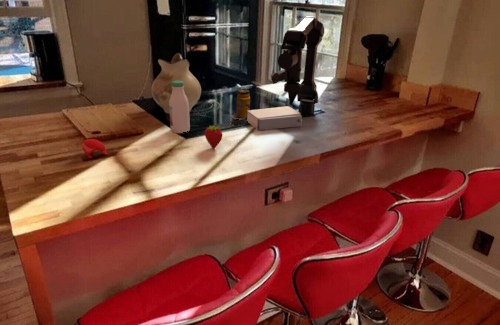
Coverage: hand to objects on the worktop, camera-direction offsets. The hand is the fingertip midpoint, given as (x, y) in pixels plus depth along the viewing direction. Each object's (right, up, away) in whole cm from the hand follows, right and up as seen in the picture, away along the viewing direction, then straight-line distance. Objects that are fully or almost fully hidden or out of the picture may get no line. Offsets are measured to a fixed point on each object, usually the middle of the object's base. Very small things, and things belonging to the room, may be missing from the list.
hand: (290, 103), depth 150 cm
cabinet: (-6, -6, +14) cm, 16 cm away
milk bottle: (-45, -11, +3) cm, 46 cm away
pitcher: (-51, +1, +27) cm, 58 cm away
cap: (-69, -21, -20) cm, 75 cm away
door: (-4, -9, +8) cm, 12 cm away
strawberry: (-30, -18, -12) cm, 37 cm away
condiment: (-20, -3, +21) cm, 29 cm away
